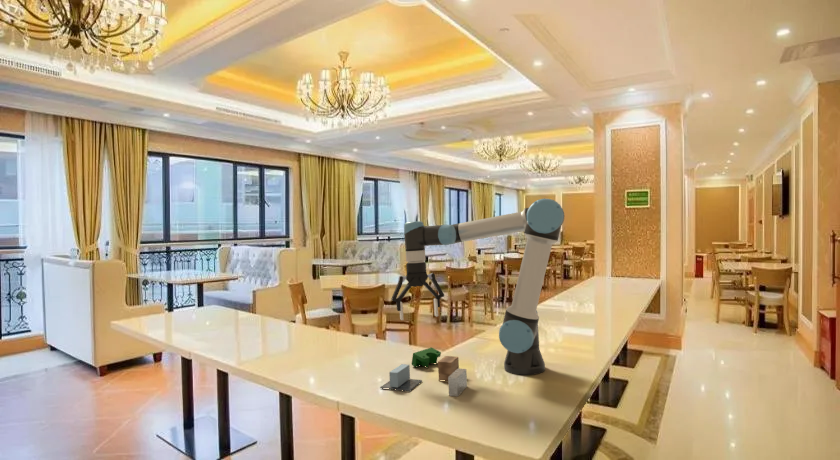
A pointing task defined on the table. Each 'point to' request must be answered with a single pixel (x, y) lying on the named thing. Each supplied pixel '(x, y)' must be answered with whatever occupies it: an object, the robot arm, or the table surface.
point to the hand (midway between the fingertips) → (419, 317)
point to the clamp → (425, 357)
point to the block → (447, 367)
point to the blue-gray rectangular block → (399, 375)
